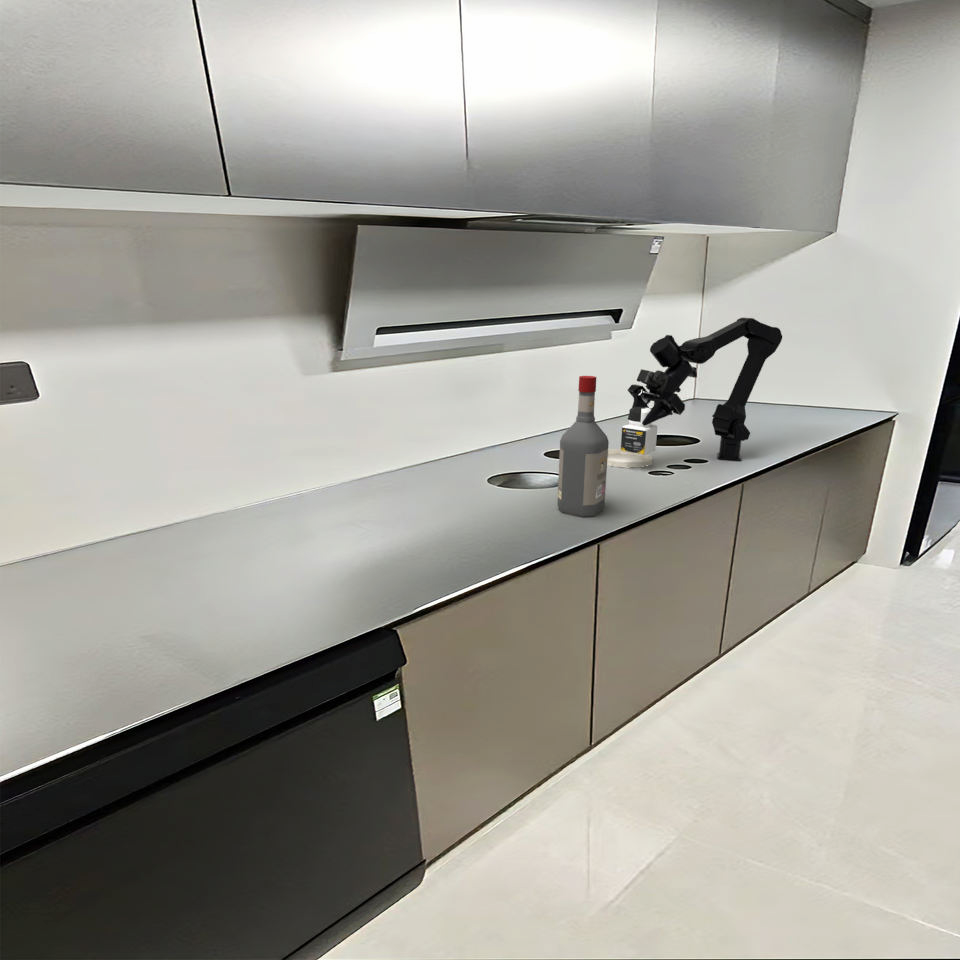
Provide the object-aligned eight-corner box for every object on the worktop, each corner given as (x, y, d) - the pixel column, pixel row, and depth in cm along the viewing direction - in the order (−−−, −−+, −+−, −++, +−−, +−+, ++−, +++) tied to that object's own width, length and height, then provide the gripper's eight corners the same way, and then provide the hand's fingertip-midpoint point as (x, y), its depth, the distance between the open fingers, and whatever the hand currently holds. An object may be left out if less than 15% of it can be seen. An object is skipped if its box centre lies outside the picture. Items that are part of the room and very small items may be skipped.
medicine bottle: (620, 451, 181) (622, 408, 178) (632, 446, 186) (635, 404, 183) (644, 455, 177) (647, 411, 173) (655, 450, 182) (659, 407, 178)
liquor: (607, 508, 151) (616, 376, 142) (590, 519, 144) (598, 381, 135) (571, 500, 156) (578, 372, 147) (553, 511, 149) (558, 377, 140)
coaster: (599, 451, 201) (600, 447, 201) (654, 456, 196) (654, 451, 196) (591, 465, 187) (591, 459, 186) (649, 470, 182) (649, 465, 181)
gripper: (635, 355, 184) (599, 397, 183) (679, 362, 168) (640, 409, 167) (656, 381, 189) (622, 423, 188) (701, 391, 173) (663, 436, 172)
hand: (635, 422), depth 179 cm, fingers closed on medicine bottle, 6 cm apart
